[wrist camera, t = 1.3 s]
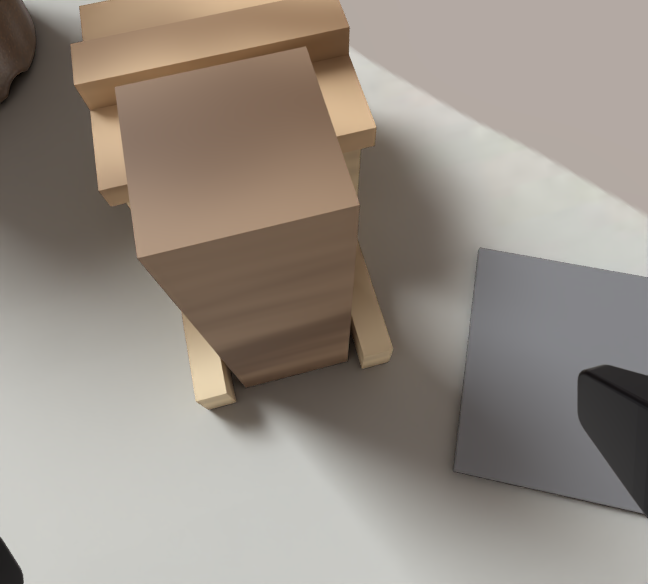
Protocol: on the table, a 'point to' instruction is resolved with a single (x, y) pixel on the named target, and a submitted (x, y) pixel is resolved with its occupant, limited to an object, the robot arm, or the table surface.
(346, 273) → the walnut block
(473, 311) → the felt mat
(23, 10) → the plant pot
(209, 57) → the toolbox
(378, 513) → the table surface
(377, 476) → the table surface
